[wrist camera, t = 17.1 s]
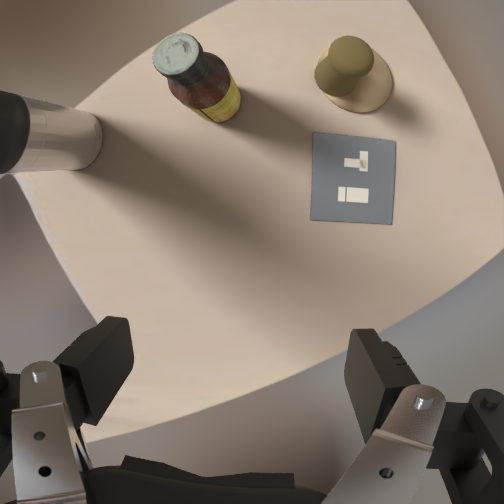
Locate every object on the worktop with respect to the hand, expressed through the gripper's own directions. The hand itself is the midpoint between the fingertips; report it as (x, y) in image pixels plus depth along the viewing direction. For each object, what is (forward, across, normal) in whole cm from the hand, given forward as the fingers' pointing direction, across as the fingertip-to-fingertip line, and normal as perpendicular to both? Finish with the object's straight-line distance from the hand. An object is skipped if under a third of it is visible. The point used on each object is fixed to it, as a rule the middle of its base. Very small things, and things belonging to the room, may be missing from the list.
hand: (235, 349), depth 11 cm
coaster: (+34, -13, -21) cm, 42 cm away
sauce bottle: (+34, +6, -16) cm, 38 cm away
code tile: (+34, -13, -6) cm, 37 cm away
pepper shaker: (+34, -10, -20) cm, 41 cm away
